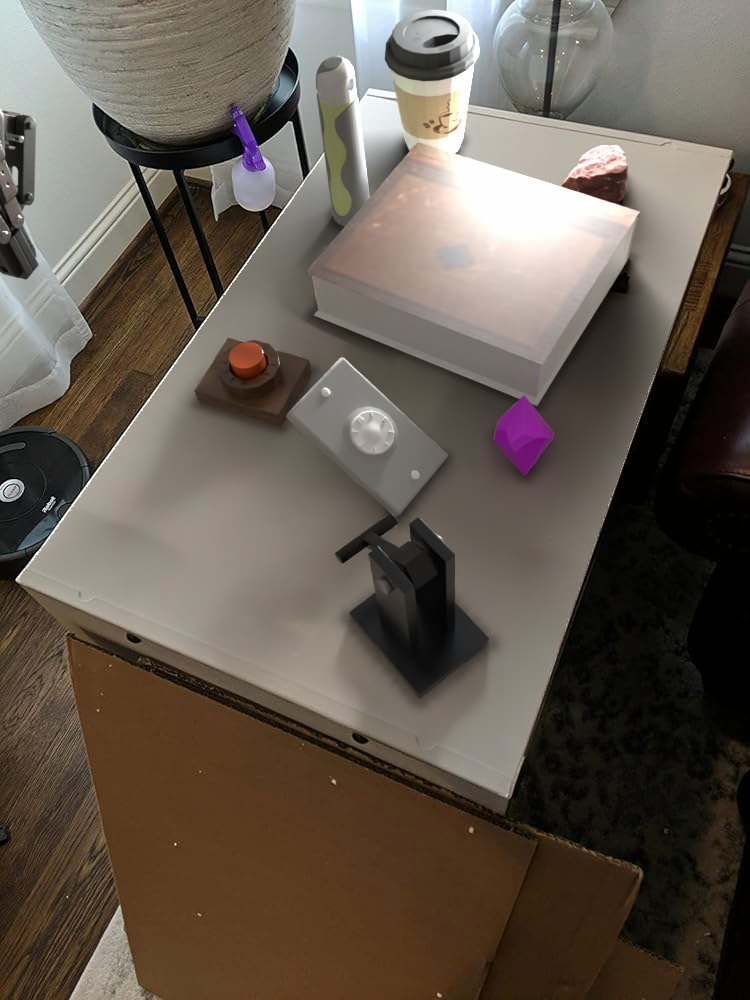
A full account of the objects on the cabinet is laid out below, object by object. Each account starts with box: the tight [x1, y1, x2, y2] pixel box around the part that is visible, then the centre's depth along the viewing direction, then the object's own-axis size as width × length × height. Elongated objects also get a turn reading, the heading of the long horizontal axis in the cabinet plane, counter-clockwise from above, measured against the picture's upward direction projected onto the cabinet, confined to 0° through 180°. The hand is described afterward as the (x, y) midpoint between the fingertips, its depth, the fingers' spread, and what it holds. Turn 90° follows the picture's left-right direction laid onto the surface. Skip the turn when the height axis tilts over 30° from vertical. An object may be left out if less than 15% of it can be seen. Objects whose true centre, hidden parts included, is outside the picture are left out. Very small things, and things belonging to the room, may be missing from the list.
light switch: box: [286, 356, 449, 517], centre depth 85 cm, size 8×6×14 cm
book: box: [305, 142, 641, 407], centre depth 96 cm, size 24×28×7 cm
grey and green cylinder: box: [315, 55, 371, 227], centre depth 98 cm, size 5×5×20 cm
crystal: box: [493, 395, 555, 477], centre depth 85 cm, size 5×5×5 cm
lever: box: [334, 512, 438, 590], centre depth 69 cm, size 10×6×2 cm
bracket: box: [348, 516, 490, 700], centre depth 71 cm, size 10×8×15 cm
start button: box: [229, 341, 266, 379], centre depth 90 cm, size 4×4×2 cm
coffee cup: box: [384, 9, 480, 154], centre depth 106 cm, size 11×11×15 cm
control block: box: [193, 337, 313, 428], centre depth 92 cm, size 8×10×4 cm
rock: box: [560, 144, 629, 205], centre depth 103 cm, size 11×6×8 cm
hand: (23, 270), depth 65 cm, fingers closed
